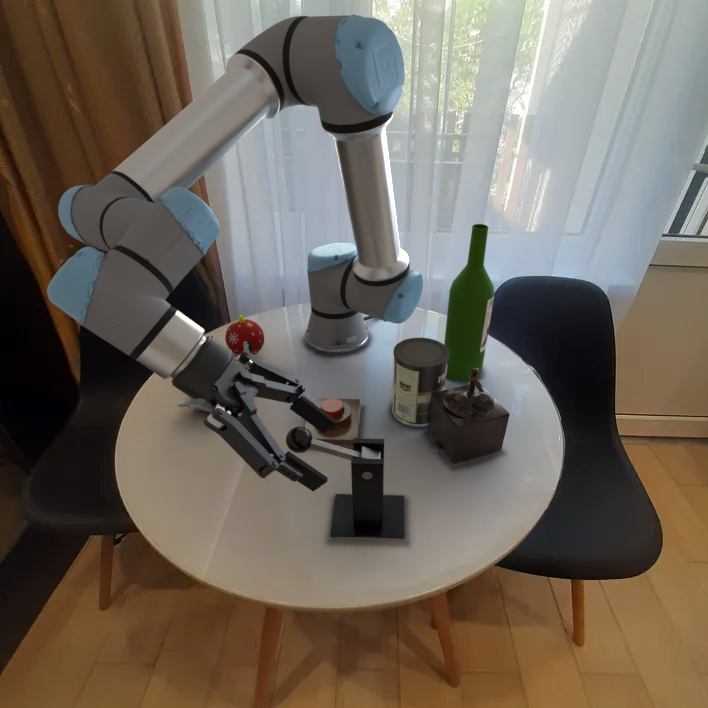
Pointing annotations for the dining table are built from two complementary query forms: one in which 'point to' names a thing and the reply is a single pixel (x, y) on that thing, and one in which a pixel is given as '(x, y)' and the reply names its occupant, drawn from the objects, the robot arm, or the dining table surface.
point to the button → (332, 407)
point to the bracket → (368, 500)
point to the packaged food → (196, 404)
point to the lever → (324, 446)
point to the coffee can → (417, 378)
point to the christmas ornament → (244, 336)
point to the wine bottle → (469, 311)
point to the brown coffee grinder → (467, 421)
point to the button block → (339, 423)
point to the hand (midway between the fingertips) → (325, 454)
